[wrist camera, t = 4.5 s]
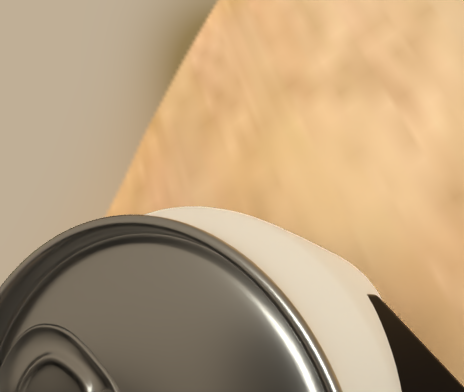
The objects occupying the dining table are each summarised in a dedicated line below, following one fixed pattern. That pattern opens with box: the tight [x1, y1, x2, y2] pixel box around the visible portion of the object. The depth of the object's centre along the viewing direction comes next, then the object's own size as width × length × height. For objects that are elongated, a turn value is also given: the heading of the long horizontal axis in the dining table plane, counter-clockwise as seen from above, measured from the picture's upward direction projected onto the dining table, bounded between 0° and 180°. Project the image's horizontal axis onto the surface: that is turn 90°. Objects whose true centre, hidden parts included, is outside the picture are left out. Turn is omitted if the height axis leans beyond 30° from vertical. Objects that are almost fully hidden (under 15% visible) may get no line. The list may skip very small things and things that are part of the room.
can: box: [0, 206, 402, 392], centre depth 9 cm, size 6×6×12 cm
